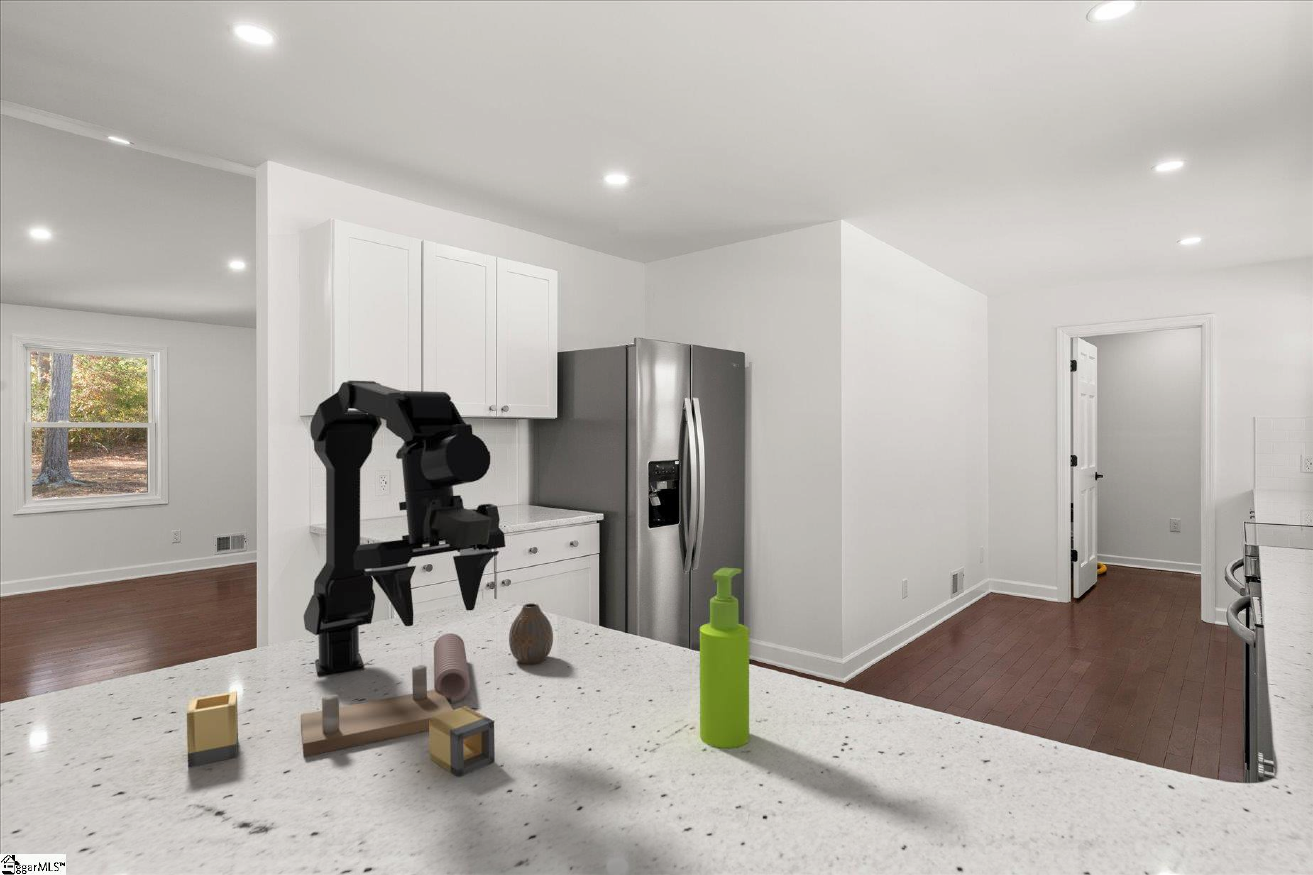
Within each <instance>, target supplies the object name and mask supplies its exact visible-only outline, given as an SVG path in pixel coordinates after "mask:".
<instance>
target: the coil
mask: <svg viewBox="0 0 1313 875" xmlns="http://www.w3.org/2000/svg"><path fill="white" fill-rule="evenodd" d="M469 673H470V672H469V668H468V660H467V653H466V645H465V641H464V640H463V638H462V637H461V636H459V635H458V634H457V633H454V632H453V633H451V632H448V633H444V634H442V635H441V636H439V637H438V638H437V639H436V641H435V642H434V645H433V679H434V680H433V683H434V686H433V687H434V690H435V691H442V693H443V694H444V696H445V698H446V699H447V701H450V703H451V704H454V703H457V702H460V701H461V700H463V699H464V698H465V697H466V695H467V694H468V692H469V690H470V687H471V686H470V685H471V681H470V680H471V679H470V674H469Z"/></svg>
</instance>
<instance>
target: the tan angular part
mask: <svg viewBox="0 0 1313 875" xmlns="http://www.w3.org/2000/svg"><path fill="white" fill-rule="evenodd" d="M428 733H429V759H430V760H431V761H433V762H434V763H436V764H437V765H438V766H441V767H442V768H443V769H445V770H447V771H448V772H450V773H451V774H453V775H454V776H455V777H457V778H459V777H461V776H464V775H467V774H468V773H471V772H474V771H475V770H479V769H480V768H483V767H485V766H488V765H490V764H493V763H495V760H496V759H495V758H496V757H495V756H496V755H495V754H496V753H495V752H496V751H495V748H496V746H495V720H493V719H491V718H489V717H487V716H485V715H484V714H481V713H480V712H478V711H476V710H473V709H472V708H470V707H468V706H466V705H464V706H461V707H459V708H456V709H453V710H452V711H449V712H446V713H443V714H440V715H438V716H435V717H432V718H429V730H428Z"/></svg>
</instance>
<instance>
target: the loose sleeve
mask: <svg viewBox="0 0 1313 875" xmlns="http://www.w3.org/2000/svg"><path fill="white" fill-rule="evenodd" d="M188 704H189V705H188V706H187V711H186V739H187V740H186V741H187V742H186V743H187V768H190V767H195V766H200V765H205V764H210V763H215V762H218V761H220V762H221V761H223V760H224V761H225V760H229V759H233V758H237V753H238V746H239V745H238V744H239V724H238V721H239V720H238V719H239V718H238V715H239V714H238V713H239V712H238V691H236V690H235V691H230V692H224V693H218V694H217V693H216V694H211V695H205V696H200V697H193V698H190V700H189V703H188Z"/></svg>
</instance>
